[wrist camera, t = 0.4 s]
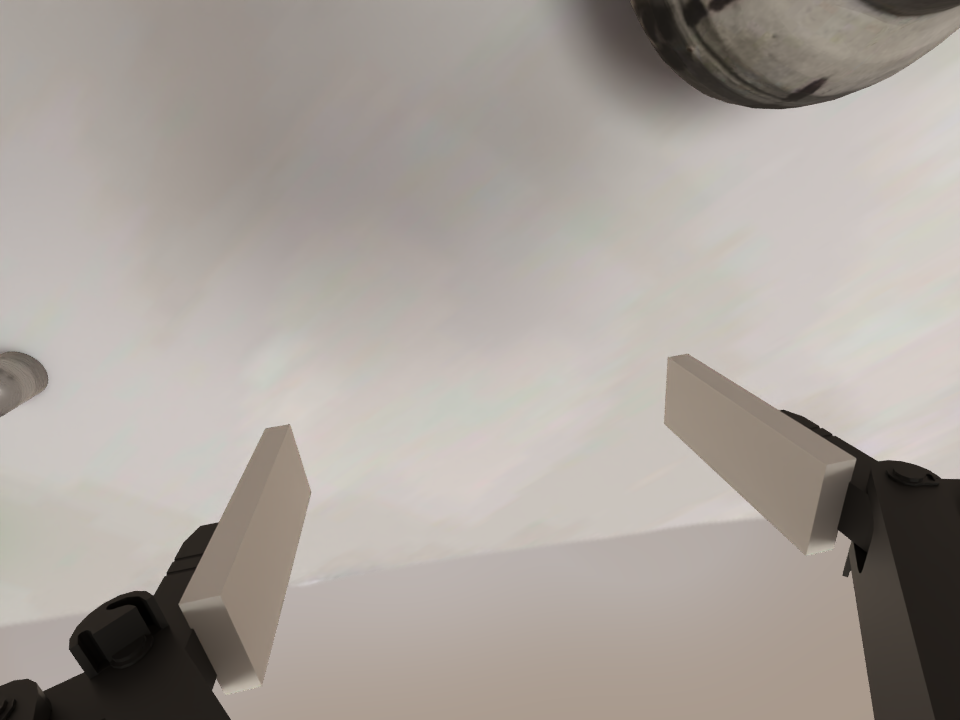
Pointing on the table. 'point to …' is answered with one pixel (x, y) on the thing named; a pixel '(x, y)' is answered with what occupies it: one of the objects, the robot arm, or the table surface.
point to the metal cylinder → (19, 380)
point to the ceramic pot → (792, 44)
